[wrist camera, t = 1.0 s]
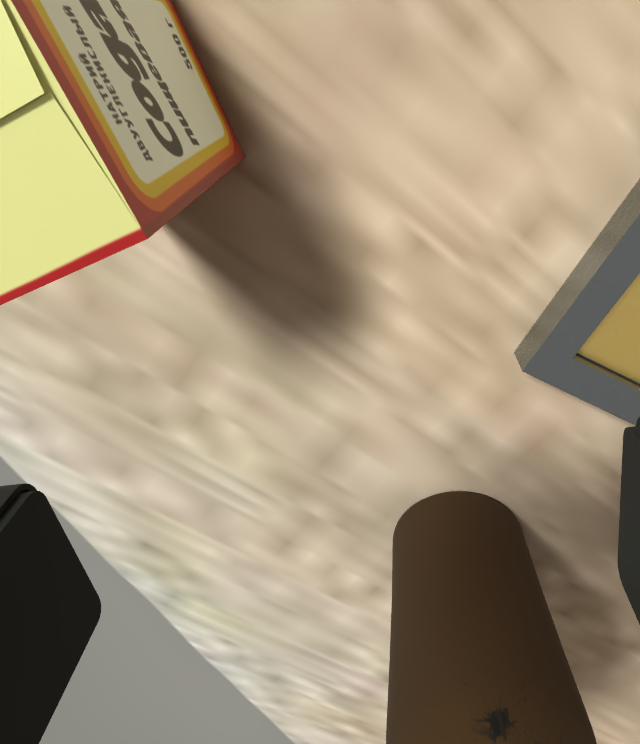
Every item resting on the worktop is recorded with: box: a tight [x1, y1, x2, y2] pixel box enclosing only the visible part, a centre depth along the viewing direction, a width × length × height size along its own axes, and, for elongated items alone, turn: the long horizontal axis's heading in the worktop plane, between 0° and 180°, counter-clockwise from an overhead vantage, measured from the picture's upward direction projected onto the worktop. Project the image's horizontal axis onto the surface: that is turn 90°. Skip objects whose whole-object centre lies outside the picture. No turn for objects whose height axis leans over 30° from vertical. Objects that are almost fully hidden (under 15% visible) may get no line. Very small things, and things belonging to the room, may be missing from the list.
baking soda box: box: [0, 0, 245, 305], centre depth 25 cm, size 10×6×16 cm
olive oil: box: [386, 492, 597, 744], centre depth 33 cm, size 11×11×25 cm
